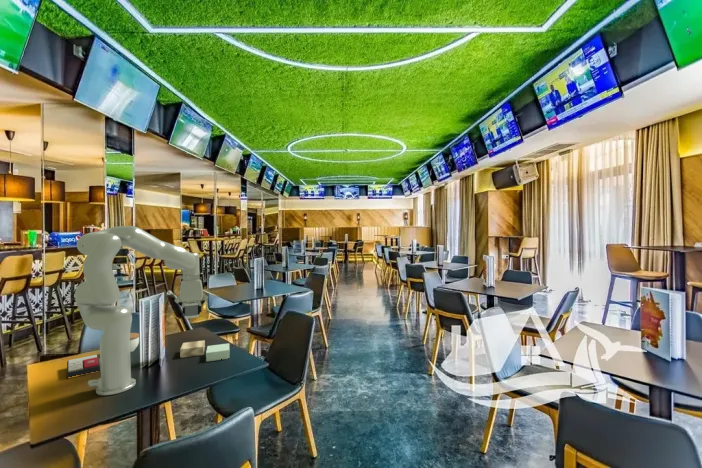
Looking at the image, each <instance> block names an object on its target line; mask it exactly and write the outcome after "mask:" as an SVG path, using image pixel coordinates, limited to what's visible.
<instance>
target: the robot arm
mask: <svg viewBox="0 0 702 468" xmlns="http://www.w3.org/2000/svg"><path fill="white" fill-rule="evenodd" d="M121 247H127V248H130V249H131V250H133V251H137V252H139V253H140V254H142V255H144V256H145V257H148V258H151V259H155V260H162V261H164V266H165V267H167V269H170V270H182V275H180V276H179V280H181V282H180V287H179V295H178V296H177V297H175V299H174V302H175V303H176V304H177V305H178V306H180V307H181V308H182V312H181V313H182V314H183V316H184V317H185V306H184V304H185V303H186V302H191V301H197V302H198V304H199V305H198V314H199V315H200V314H201V312H202V305H203V304H204V303H206V301H207V300H208V299H209V296H208V295H206V293H204V288H203V282H202V279H200V278H201V277H200V275H201V274H200V271H201V270H200V254H199V253H198V252H189V250H186V249H185V248H183V247H181V246H179V245H175V244H172V243H170V242H167V241H164V240H161V239H159V238H158V237H156V236H155V235H152V234H150V233H149V232H148V231H145V230H144V229H142V228H140V227H138V226H133V225H120V226H118V225H117V226H114V227H113V226H112V227H110V228H105V229H101V230H96V231H93V232H89V233H84V234H83V235H82V236H80V237H78V240H77V242H76V248H77V250H78V252H79V253H81V254H82V255H85V256H86V258H85V260H84V263H83V266H82V271H83V275H84V281H83V282H81V283H79V285H78V286H77V287H76V289H75V291H74V300H75V304H76V306H77V308H78V311H79V313H80V316H81V318H82V321H83V323H84V324H85V325H86V327H87V328H89V329H90V330H91V329H92V330H94V331H95V330H96V331H103V333H102V335H101V337H100V341H99V358H100V359H99V364H100V378H98V379H90V380H88V381H87V386H88V387H89V388H95V387H96V389H95V393H96V394H97V396H98V395H99V396H112V395H116V394H120V393H121V394H122V393H123V392H126V391H128V390H130V389H132V388H134V387H135V385H136V384H137V383H136V381H137V380H136V379H135V378H133V377H132V373H131V372H132V368H131V366H132V364H131V362H132V361H131V352H130V333H131V330H132V329H131V328H132V322H133V314H132V312H131V311H130V310H129V309H128V308H127V307H124V306H119V305H114V304H116V303H118V302H119V299H120V296H121V293H120V288H119V285H118V283H117V279H116V277H115V274H114V272H113V271H114V270H113V261H114V259H115V257H116V255H117V254H118V253H119V252H120V250H121Z"/></svg>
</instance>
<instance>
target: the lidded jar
mask: <svg viewBox="0 0 702 468" xmlns="http://www.w3.org/2000/svg"><path fill="white" fill-rule="evenodd" d="M139 344H140V333H138V332H130V353H132V352H134V351H135V350H136V349H137V347H138V346H139Z"/></svg>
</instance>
